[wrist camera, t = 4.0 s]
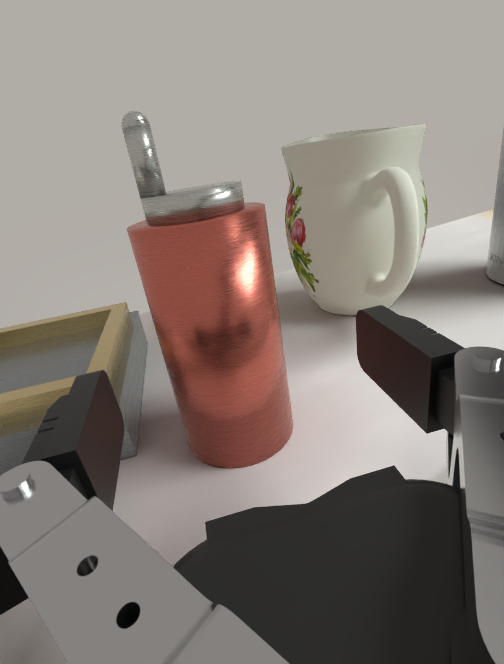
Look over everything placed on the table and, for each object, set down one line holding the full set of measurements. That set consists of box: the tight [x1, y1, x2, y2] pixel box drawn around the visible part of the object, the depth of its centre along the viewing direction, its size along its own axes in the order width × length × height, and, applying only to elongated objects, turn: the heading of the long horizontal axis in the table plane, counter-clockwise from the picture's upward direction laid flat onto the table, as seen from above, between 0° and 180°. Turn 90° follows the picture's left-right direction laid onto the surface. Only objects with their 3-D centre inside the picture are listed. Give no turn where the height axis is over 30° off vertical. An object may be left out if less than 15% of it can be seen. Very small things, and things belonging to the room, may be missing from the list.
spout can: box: [122, 111, 293, 468], centre depth 17 cm, size 6×6×15 cm
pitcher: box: [281, 124, 427, 315], centre depth 29 cm, size 11×18×14 cm, turn 5°
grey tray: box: [0, 302, 147, 476], centre depth 23 cm, size 16×14×4 cm
